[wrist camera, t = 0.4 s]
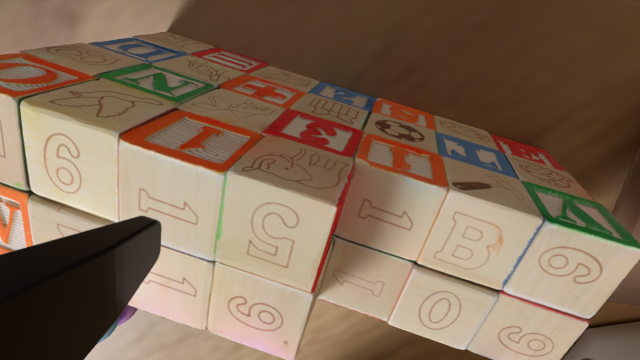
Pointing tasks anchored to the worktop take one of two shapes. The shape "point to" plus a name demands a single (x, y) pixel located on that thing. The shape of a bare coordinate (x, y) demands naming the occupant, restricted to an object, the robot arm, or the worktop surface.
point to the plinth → (636, 216)
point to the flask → (608, 343)
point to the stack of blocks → (301, 200)
